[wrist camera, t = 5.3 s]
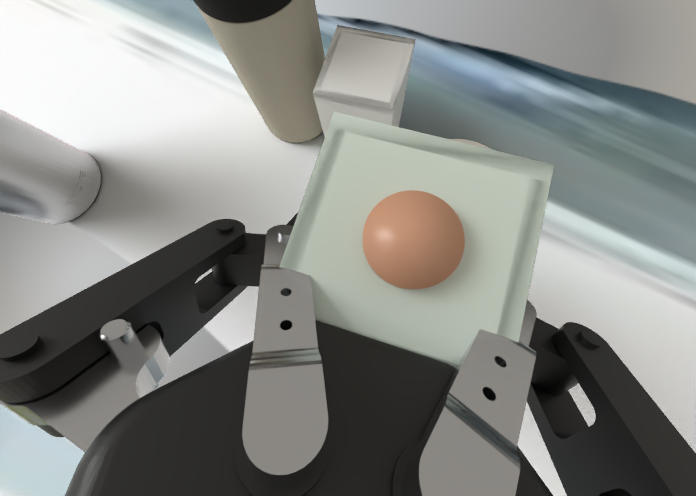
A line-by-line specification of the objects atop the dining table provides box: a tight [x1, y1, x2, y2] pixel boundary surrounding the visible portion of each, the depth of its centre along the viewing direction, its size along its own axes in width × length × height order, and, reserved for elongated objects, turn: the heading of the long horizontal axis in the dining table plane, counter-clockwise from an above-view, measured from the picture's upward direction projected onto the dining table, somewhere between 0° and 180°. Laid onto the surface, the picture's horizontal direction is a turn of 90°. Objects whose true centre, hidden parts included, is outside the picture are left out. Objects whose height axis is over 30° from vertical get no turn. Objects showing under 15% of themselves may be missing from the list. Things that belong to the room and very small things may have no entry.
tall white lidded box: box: [313, 25, 416, 137], centre depth 23 cm, size 6×6×10 cm
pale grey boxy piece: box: [279, 112, 554, 368], centre depth 11 cm, size 6×6×10 cm
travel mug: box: [194, 0, 325, 142], centre depth 21 cm, size 8×8×18 cm
